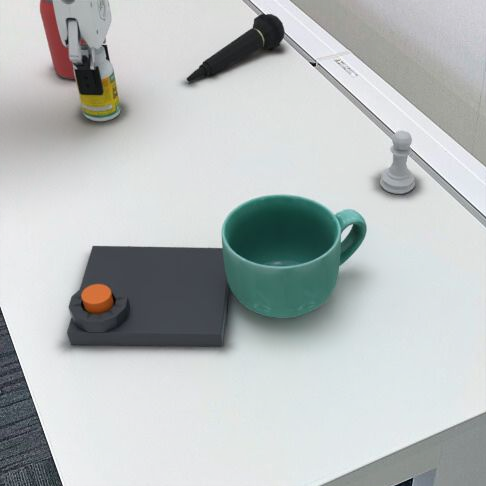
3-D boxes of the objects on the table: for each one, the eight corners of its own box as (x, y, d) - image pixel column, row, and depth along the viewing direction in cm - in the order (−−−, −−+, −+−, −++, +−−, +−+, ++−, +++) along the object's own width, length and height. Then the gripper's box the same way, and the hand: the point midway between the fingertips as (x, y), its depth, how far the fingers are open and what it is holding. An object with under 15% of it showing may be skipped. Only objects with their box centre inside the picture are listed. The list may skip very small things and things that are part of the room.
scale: (70, 344, 82) (63, 321, 79) (95, 257, 91) (89, 234, 88) (222, 346, 82) (220, 323, 80) (231, 260, 92) (230, 237, 89)
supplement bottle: (81, 105, 113) (66, 42, 106) (118, 100, 115) (106, 38, 107) (85, 125, 110) (71, 60, 103) (124, 119, 111) (112, 56, 104)
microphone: (199, 104, 121) (289, 48, 129) (200, 77, 116) (293, 20, 124) (175, 82, 122) (266, 28, 130) (175, 54, 116) (269, 0, 125)
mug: (246, 345, 83) (242, 280, 76) (213, 272, 90) (206, 206, 83) (386, 308, 88) (394, 243, 81) (343, 241, 95) (347, 177, 88)
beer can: (77, 85, 117) (59, 6, 108) (46, 72, 119) (25, -6, 110) (108, 68, 121) (93, -10, 112) (77, 56, 123) (60, -21, 114)
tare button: (81, 314, 80) (78, 303, 79) (87, 294, 82) (84, 283, 81) (110, 314, 80) (108, 303, 79) (115, 294, 82) (113, 284, 81)
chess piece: (420, 182, 104) (428, 130, 99) (403, 199, 102) (409, 146, 96) (391, 170, 106) (396, 118, 100) (373, 186, 103) (377, 133, 97)
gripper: (85, -24, 90) (112, 116, 103) (111, -78, 101) (132, 54, 115) (19, -26, 89) (55, 114, 103) (52, -80, 101) (81, 52, 114)
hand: (96, 81), depth 109 cm, fingers closed on supplement bottle, 5 cm apart
